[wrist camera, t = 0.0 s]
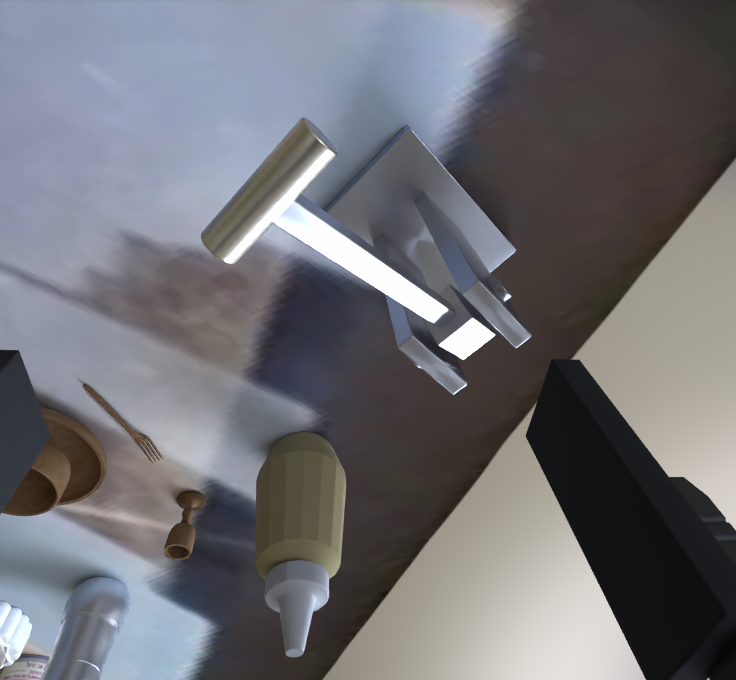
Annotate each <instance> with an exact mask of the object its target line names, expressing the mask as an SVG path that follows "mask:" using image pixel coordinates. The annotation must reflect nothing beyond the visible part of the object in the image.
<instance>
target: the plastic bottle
mask: <svg viewBox="0 0 736 680" xmlns="http://www.w3.org/2000/svg"><path fill="white" fill-rule="evenodd" d="M129 604H130V595H129V592H128V589H127V587H126V586H125V585H124V584H123V583H121V582H119V581H117V580H115V579H111V578H105V577H96V578H91V579H88V580H86V581H84V582H83V583H82V584H80V585H79V586H78V587H76V588H75V590H74V591H73V593H72V594H71V596H70V598H69V599H68V601H67V603H66V606H65V609H64V613H63V616H62V621H61V627H60V630H59V633H58V636H57V639H56V641H55V644H54V647H53V650H52V653H51V656H50V658H49V660H48V662H47V664H46V667H45V669H44V672H43V673H42V675H41V677H40V679H39V680H99V678H100V676H101V674H102V670H103V667H104V664H105V661H106V659H107V657H108V654H109V652H110V649H111V647H112V645H113V642H114V640H115V637H116V635H117V634H118V632H119V630H120V629H121V627H122V625H123V622H124V620H125V618H126V616H127V614H128V610H129Z"/></svg>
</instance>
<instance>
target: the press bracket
mask: <svg viewBox="0 0 736 680" xmlns="http://www.w3.org/2000/svg"><path fill="white" fill-rule="evenodd" d="M324 211H325V212H327V213H328V214H329V215H331V216H332V217H333V218H335V219H336V220H338V221H339V222H340V223H342V224H343V225H344V226H346V227H347V228H349V229H350V230H351V231H353V232H354V233H355V234H357V235H358V236H360V237H361V238H362V239H364V240H365V241H366V242H368V243H369V244H370V245H372V246H373V247H375V248H376V249H377V250H379V251H380V252H381V253H383V254H384V255H386V256H387V257H388V258H390V259H391V260H392V261H394V262H395V263H396V264H398V265H399V266H401V267H402V268H403V269H405V270H406V271H407V272H409V273H410V274H412V275H413V276H414V277H416V278H417V279H418V280H420V281H421V282H422V283H424V284H425V285H427V286H428V287H429V288H431V289H432V290H433V291H435V292H436V293H438V294H439V293H440V292H441V291H442V290H443V289H444V288H446V287H447V286H448V285H451V286H453V287H454V288H455V289H456V290H458V291H459V292H460V293H461V294H462V295H463V296H464V297H465V298H466V299H467V300H468V301H469V302H470V303H471V304H472V305H473V306H474V307H475V308H476V309H477V310H478V311H479V312H480V313H481V314H482V315H483V316H484V317H485V318H486V319H487V320H488V321H489V322H490V323H491V324H492V325H493V326H494V327H495V328H496V329H497V330H498V331H499V332H500V333H501V334H502V335H503V336H504V337H505V338H506V339H507V340H508V341H509V342H510V343H511V344H512V345H513V346H514V347H515V348H517V347H518V346H519V345H521V344H522V343H523V342H525V341H526V340H528V339H529V338H530V337H531V336H532V335H531V334H530V332H529V331H528V329H527V328H526V326H525V325H524V323H523V322H522V320H521V319H520V317H519V316H518V314H517V313H516V311H515V310H514V308H513V307H512V305H511V304H510V302H509V301H508V299H509V298H511V297H512V294H511V293H510V291H509V290H508V289H507V288H506V286H505V285H504V284H503V283H502V282H501V281H500V280H499V278H498V277H497V276H495V275H493V276H491V274H490V272H491V271H493V270H494V269H495V268H496V267H497V266H499V265H500V264H501V263H502V262H503V261H505V260H506V259H507V258H508V257H509V256H511V255H512V254H513V253H514V252H515V251H516V249H515V248H514V247H513V246H512V244H511V243H510V242H509V241H508V240H507V239H506V238H505V236H504V235H503V234H502V233H501V232H500V231H499V229H498V228H497V227H496V226H495V225H494V224H493V222H492V221H491V220H490V219H489V218H488V217H487V216H486V214H485V213H484V212H483V211H482V210H481V209H480V207H479V206H478V205H477V204H476V203H475V202H474V201H473V199H472V198H471V197H470V196H469V195H468V194H467V192H466V191H465V190H464V189H463V188H462V187H461V185H460V184H459V183H458V182H457V181H456V180H455V179H454V177H453V176H452V175H451V174H450V173H449V172H448V170H447V169H446V168H445V167H444V166H443V165H442V164H441V162H440V161H439V160H438V159H437V158H436V157H435V155H434V154H433V153H432V152H431V151H430V150H429V149H428V147H427V146H426V145H425V144H424V143H423V142H422V140H421V139H420V138H419V137H418V136H417V135H416V133H415V132H414V131H413V130H412V129H411V128H410V127H409V125H406V126H405V127H404V128H403V129H402V130H401V131H400V132H399V133H398V134H397V135H396V136H395V137H394V138H393V139H392V140H391V141H390V142H389V143H388V144H387V146H386V147H385V148H384V149H383V150H382V151H381V152H380V153H379V154H378V155H377V156H376V157H375V158H374V159H373V160H372V161H371V162H370V163H369V164H368V165H367V166H366V167H365V168H364V169H363V170H362V171H361V172H360V173H359V174H358V175H357V176H356V177H355V179H354V180H353V181H352V182H351V183H350V184H349V185H348V186H347V187H346V188H345V189H344V190H343V191H342V192H341V193H340V194H339V195H338V196H337V197H336V198H335V199H334V200H333V201H332V202H331V203H330V204H329V205H328V206H327V207H326V208H325V209H324ZM385 296H386V301H387V305H388V309H389V313H390V318H391V322H392V326H393V330H394V335H395V339H396V343H397V347H398V349H399V350H401V351H402V352H403V353H404V354H405V355H407V356H408V358H409V359H410V360H411V362H412V363H413V364H414V365H415V366H417V367H418V368H422V369H423V370H424V371H426V372H427V373H428V374H429V375H430V376H431V377H433V378H434V379H435V380H436V381H437V382H439V383H440V384H441V385H442V386H443V387H445V388H446V389H447V390H448V391H449V392H451V393H452V394H455V393H456V392H458V391H459V390H460V389H462V388H463V387H464V386H466V385H467V381H466V379H465V376H464V374H463V372H462V369H461V367H460V364H459V362H458V359H457V357H456V356H455V355H454V354H452V353H450V352H448V351H447V350H445V349H443V348H441V347H440V346H438V345H437V344H436V342H435V340H434V339H433V337H432V335H431V334H430V332H429V330H428V329H427V327H426V325H425V324H424V322H423V321H422V319H421V317H420V316H419V315H418V314H416V313H415V312H413V311H412V310H410V309H408V308H407V307H405V306H404V305H402V304H400V303H399V302H397V301H396V300H394V299H392V298H391V297H389V296H388V295H386V294H385Z"/></svg>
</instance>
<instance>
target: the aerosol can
mask: <svg viewBox="0 0 736 680" xmlns="http://www.w3.org/2000/svg"><path fill="white" fill-rule="evenodd" d="M48 660H49V658H48V657H45V656H39V655H21V656H20V657H19V658H18V659H17V660H15V661H14V662H13V664H11V665H10V666H5V668H4V669H3V671H2V673H1V675H0V680H39V679H40V677H41V675H42V673H43V672H44V669H45V667H46V664H47V662H48Z"/></svg>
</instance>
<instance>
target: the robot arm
mask: <svg viewBox="0 0 736 680" xmlns="http://www.w3.org/2000/svg"><path fill="white" fill-rule="evenodd" d="M50 437H51V435H50V432H49V430H48V427H47V424H46V422H45V419H44V416H43V414H42V411H41V408H40V406H39V403H38V400H37V398H36V395H35V392H34V390H33V387H32V384H31V382H30V379H29V376H28V374H27V371H26V368H25V366H24V363H23V360H22V358H21V355H20V352H19V350H0V514H1V512H2V511H3V509H4V508H5V506H6V505H7V503H8V502H9V500H10V499H11V497H12V495H13V494H14V492H15V491H16V489H17V488H18V486H19V485H20V483H21V482H22V480H23V479H24V477H25V475H26V474H27V472H28V471H29V469H30V468H31V466H32V465H33V463H34V462H35V460H36V459H37V457H38V456H39V454H40V452H41V451H42V449H43V448H44V446H45V445H46V443H47V442H48V440H49V439H50ZM526 438H527V440H528V442H529V444H530V446H531V448H532V450H533V452H534V454H535V456H536V458H537V460H538V462H539V464H540V466H541V468H542V470H543V472H544V474H545V476H546V478H547V480H548V482H549V484H550V486H551V488H552V490H553V492H554V494H555V496H556V498H557V500H558V502H559V504H560V506H561V508H562V510H563V512H564V514H565V517H566V519H567V521H568V523H569V525H570V527H571V528H572V531H573V533H574V535H575V537H576V539H577V541H578V543H579V545H580V547H581V549H582V551H583V553H584V555H585V557H586V559H587V561H588V563H589V565H590V567H591V569H592V571H593V573H594V575H595V577H596V579H597V581H598V583H599V585H600V587H601V589H602V591H603V593H604V595H605V597H606V599H607V602H608V603H609V606H610V607H611V609H612V612H613V614H614V616H615V618H616V620H617V622H618V624H619V626H620V628H621V630H622V632H623V634H624V636H625V638H626V640H627V642H628V644H629V646H630V648H631V650H632V652H633V654H634V656H635V658H636V660H637V662H638V664H639V666H640V668H641V670H642V672H643V674H644V676H645V678H646V680H706V679H707V678H708V677H709V679H710V680H736V530H735V529H734V528H733V527H732V525H731V524H730V523H727V522H726V520H725V519H726V518H725V517H724V516H723V515H722V513H721V512H720V511H719V510H718V508H717V507H716V506H715V505H714V503H713V502H712V501H711V500H710V498H709V497H708V496H707V495H706V494H704V493H703V492H702V491H700V490H699V489H698V488H696V487H695V486H694V485H693V484H692V483H690V482H689V481H688V480H686V479H685V478H684V477H668V475H667V474H666V473H665V471H664V470H663V469H662V467H661V466H660V465H659V463H658V462H657V461H656V460H655V458H654V457H653V456H652V454H651V453H650V452H649V450H648V449H647V448H646V447H645V445H644V444H643V443H642V441H641V440H640V439H639V437H638V436H637V435H636V433H635V432H634V431H633V429H632V428H631V427H630V426H629V424H628V423H627V422H626V420H625V419H624V418H623V416H622V415H621V414H620V412H619V411H618V410H617V409H616V407H615V406H614V405H613V403H612V402H611V401H610V399H609V398H608V397H607V395H606V394H605V393H604V392H603V390H602V389H601V388H600V386H599V385H598V384H597V382H596V381H595V380H594V379H593V377H592V376H591V375H590V373H589V372H588V371H587V369H586V368H585V367H584V365H583V364H582V363H581V362H580V360H561V359H552V360H551V363H550V366H549V369H548V372H547V375H546V378H545V381H544V384H543V387H542V389H541V392H540V395H539V398H538V401H537V404H536V407H535V410H534V413H533V416H532V419H531V422H530V425H529V427H528V430H527V433H526Z"/></svg>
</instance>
